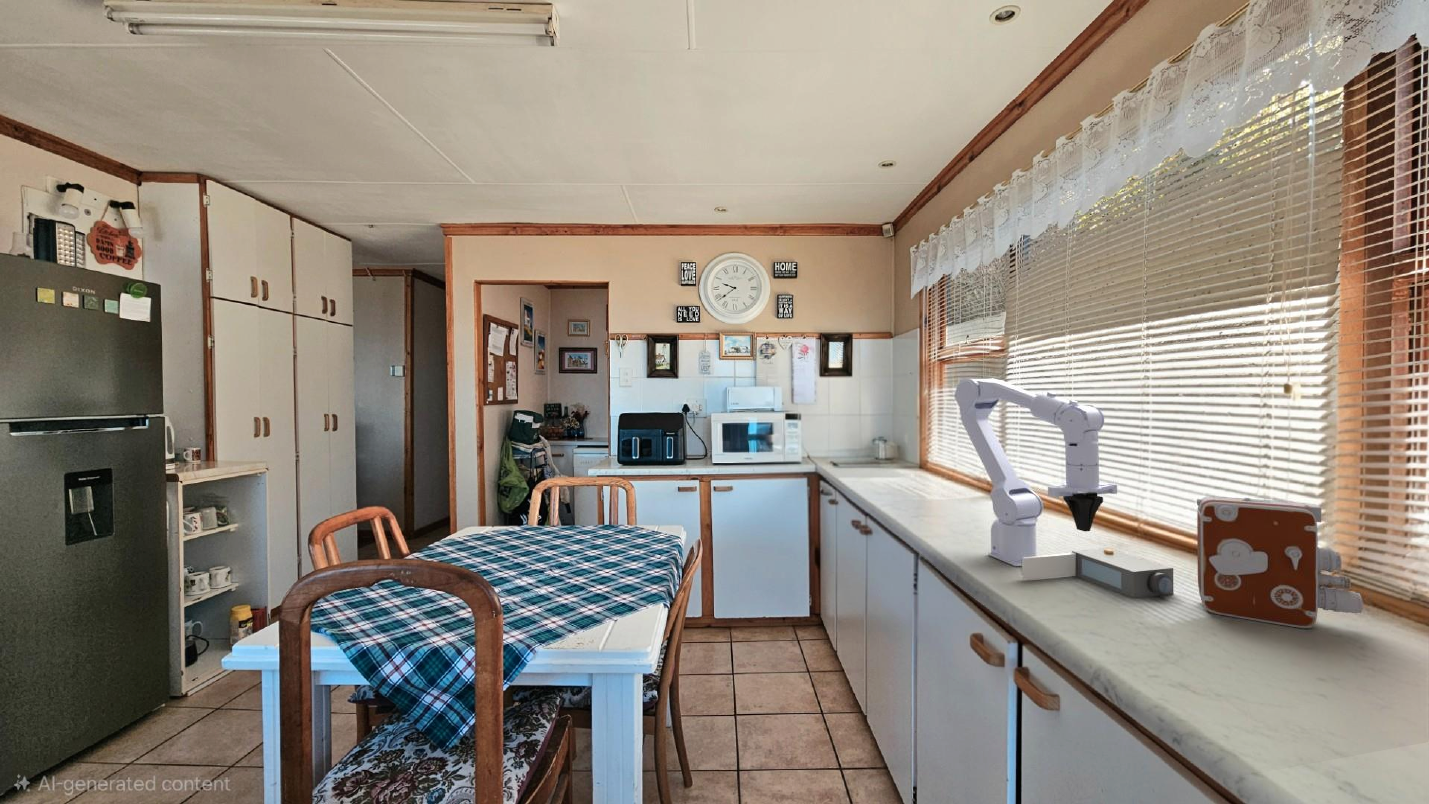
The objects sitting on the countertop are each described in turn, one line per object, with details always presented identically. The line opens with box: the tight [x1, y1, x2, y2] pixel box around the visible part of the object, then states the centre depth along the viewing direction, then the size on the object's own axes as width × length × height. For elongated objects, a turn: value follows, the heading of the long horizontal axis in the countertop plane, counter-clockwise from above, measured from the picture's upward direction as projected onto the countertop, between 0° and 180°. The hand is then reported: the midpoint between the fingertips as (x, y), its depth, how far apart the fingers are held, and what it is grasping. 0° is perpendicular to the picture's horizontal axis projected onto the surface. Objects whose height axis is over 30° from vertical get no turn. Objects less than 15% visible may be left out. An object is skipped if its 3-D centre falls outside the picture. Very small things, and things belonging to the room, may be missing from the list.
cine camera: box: [1196, 496, 1364, 629], centre depth 93 cm, size 9×19×20 cm, turn 53°
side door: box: [1021, 552, 1077, 581], centre depth 116 cm, size 12×1×5 cm, turn 101°
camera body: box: [1071, 547, 1174, 599], centre depth 110 cm, size 16×9×6 cm, turn 11°
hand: (1083, 530), depth 114 cm, fingers closed
